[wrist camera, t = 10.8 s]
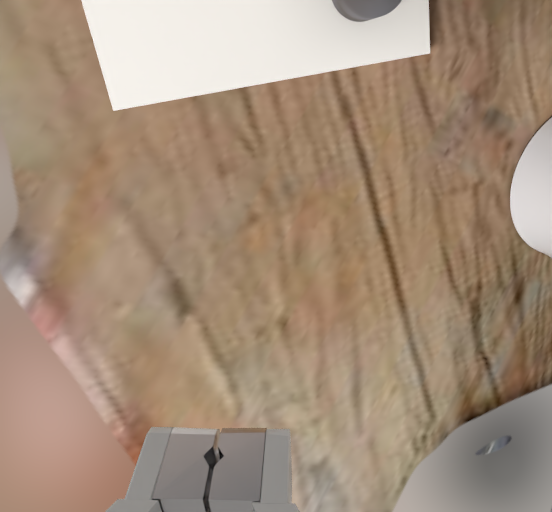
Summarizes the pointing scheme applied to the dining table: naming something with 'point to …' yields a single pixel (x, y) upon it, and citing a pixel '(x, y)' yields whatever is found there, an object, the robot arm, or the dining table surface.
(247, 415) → the dining table surface
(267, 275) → the dining table surface
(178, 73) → the dial board
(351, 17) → the lever
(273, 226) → the dining table surface
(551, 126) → the robot arm
